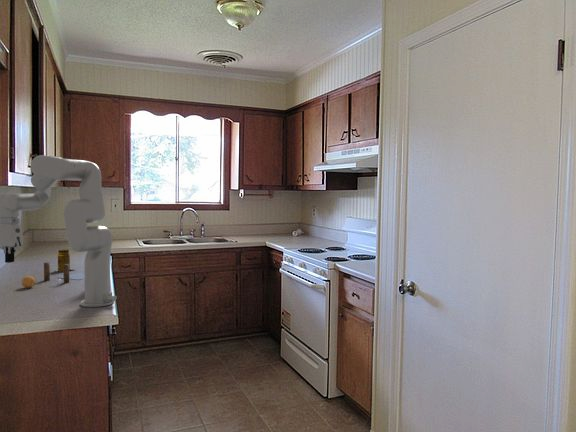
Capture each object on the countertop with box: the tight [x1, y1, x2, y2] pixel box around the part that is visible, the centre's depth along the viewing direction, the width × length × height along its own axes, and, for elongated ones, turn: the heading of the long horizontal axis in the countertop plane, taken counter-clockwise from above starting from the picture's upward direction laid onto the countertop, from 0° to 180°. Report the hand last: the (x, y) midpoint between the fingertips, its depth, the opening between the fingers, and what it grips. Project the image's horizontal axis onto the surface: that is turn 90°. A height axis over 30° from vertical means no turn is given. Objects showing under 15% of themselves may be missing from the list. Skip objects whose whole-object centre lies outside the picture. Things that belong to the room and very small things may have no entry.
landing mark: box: [56, 272, 85, 281], centre depth 234 cm, size 14×14×1 cm
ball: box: [21, 275, 36, 289], centre depth 206 cm, size 6×6×6 cm
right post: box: [62, 264, 70, 284], centre depth 219 cm, size 3×3×9 cm
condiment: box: [57, 249, 74, 273], centre depth 251 cm, size 7×8×12 cm
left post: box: [43, 261, 51, 282], centre depth 223 cm, size 3×3×9 cm
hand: (9, 262), depth 197 cm, fingers closed
